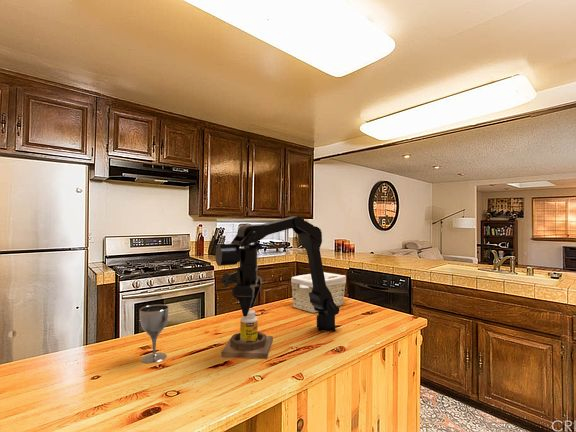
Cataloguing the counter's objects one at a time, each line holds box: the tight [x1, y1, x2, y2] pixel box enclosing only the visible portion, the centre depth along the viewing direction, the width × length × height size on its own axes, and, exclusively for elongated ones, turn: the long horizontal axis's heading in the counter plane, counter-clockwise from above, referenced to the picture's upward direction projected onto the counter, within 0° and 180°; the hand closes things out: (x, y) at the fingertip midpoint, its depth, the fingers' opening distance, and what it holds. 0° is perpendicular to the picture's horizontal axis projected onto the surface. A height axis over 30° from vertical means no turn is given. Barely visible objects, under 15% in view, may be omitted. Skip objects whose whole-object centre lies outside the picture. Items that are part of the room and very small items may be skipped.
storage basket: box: [290, 271, 347, 314], centre depth 149 cm, size 24×16×15 cm
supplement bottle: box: [239, 309, 259, 343], centre depth 101 cm, size 6×6×10 cm
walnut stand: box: [220, 331, 274, 359], centre depth 100 cm, size 14×14×4 cm
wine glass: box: [139, 303, 169, 364], centre depth 94 cm, size 8×8×15 cm
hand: (248, 311), depth 100 cm, fingers open, 9 cm apart
